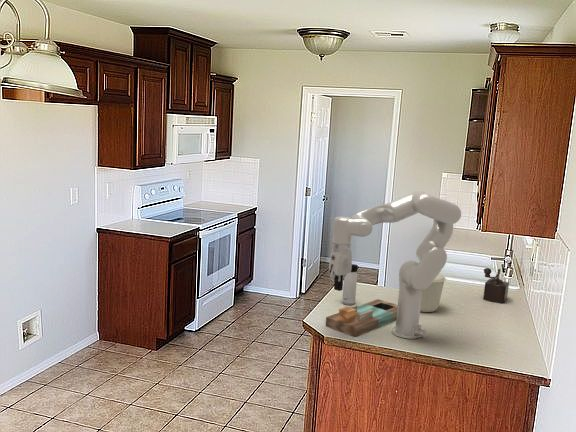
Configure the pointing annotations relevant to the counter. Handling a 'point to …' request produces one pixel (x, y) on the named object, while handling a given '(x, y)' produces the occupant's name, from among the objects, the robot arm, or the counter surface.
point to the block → (346, 314)
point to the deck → (365, 318)
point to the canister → (432, 294)
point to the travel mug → (350, 286)
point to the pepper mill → (495, 288)
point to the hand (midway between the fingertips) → (338, 289)
